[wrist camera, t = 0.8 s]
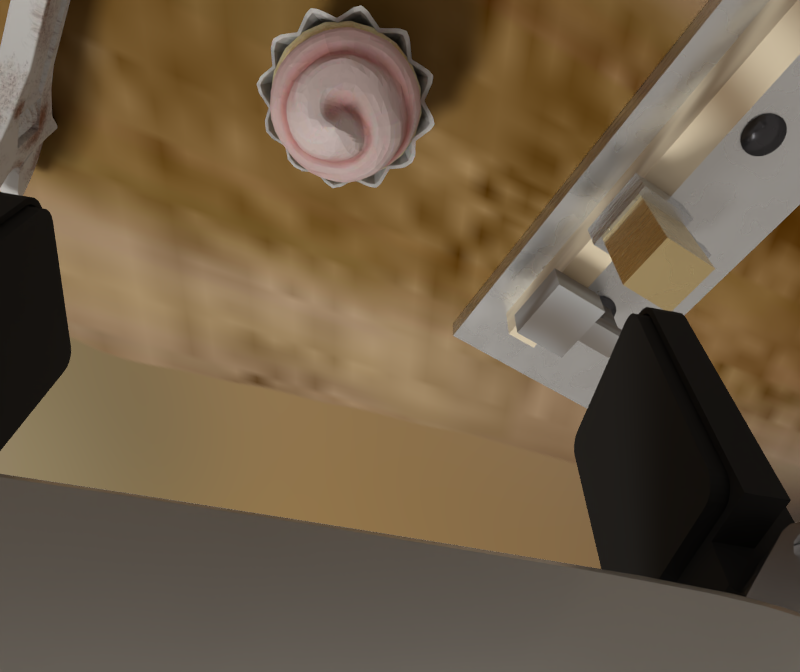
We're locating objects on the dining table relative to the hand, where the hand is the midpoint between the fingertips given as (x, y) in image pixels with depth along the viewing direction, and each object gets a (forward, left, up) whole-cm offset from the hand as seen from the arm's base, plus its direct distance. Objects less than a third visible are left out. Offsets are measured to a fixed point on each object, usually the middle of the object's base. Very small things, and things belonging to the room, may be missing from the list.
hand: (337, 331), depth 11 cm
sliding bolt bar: (0, +17, -29) cm, 34 cm away
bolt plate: (+1, +19, -31) cm, 36 cm away
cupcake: (+4, -1, -31) cm, 31 cm away
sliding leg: (+1, +17, -29) cm, 33 cm away
